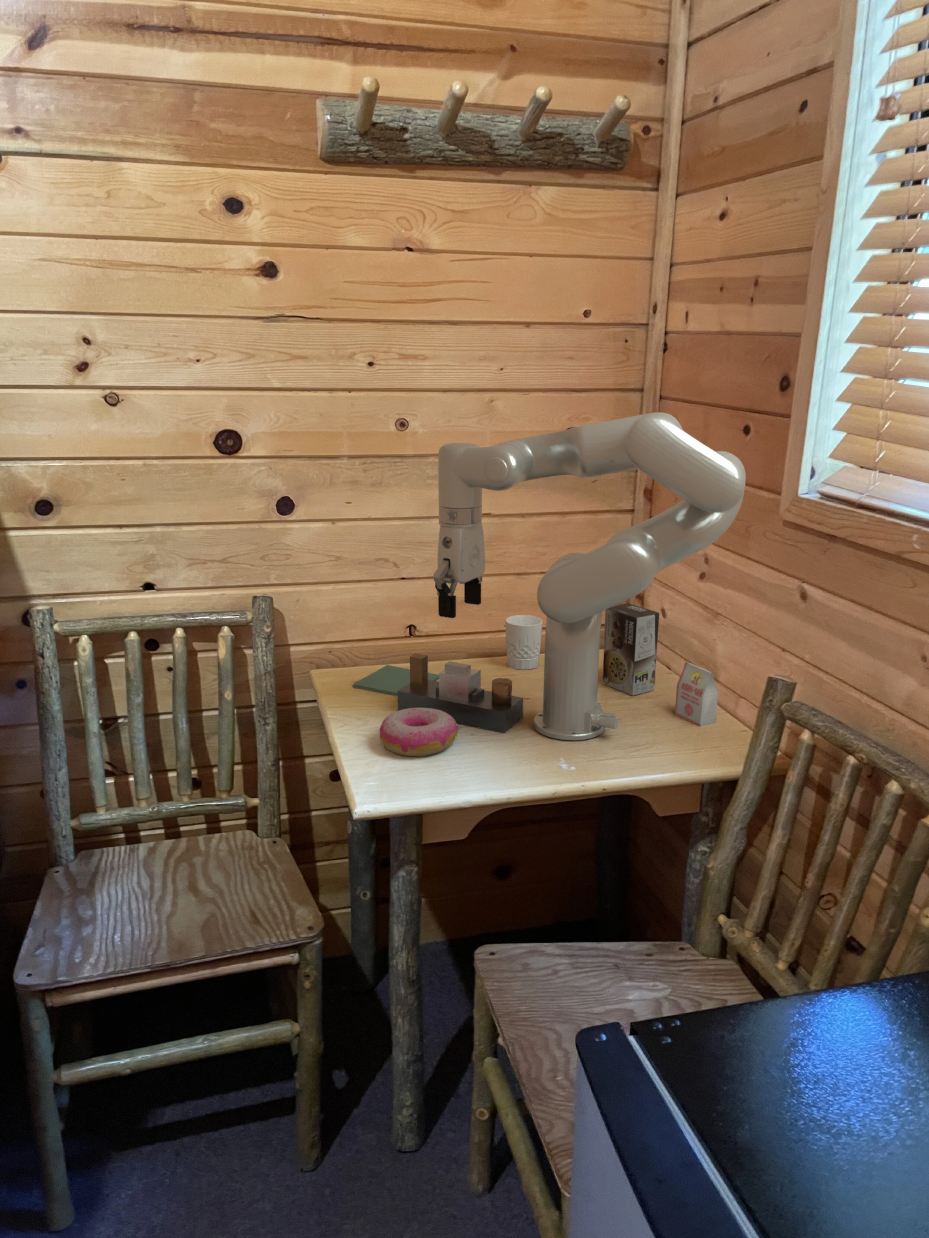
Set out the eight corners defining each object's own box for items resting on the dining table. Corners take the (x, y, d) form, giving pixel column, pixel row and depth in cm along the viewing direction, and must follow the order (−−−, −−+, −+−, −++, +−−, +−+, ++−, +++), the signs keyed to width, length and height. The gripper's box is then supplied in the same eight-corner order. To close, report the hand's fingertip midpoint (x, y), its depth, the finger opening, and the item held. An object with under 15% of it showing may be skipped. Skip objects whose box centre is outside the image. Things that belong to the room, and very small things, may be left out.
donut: (447, 725, 167) (447, 699, 165) (466, 756, 154) (466, 728, 153) (373, 733, 163) (372, 706, 162) (387, 765, 151) (386, 736, 149)
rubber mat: (441, 677, 190) (441, 675, 190) (408, 698, 179) (408, 695, 179) (387, 667, 196) (387, 664, 195) (352, 686, 184) (352, 684, 184)
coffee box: (655, 690, 184) (661, 612, 179) (632, 696, 180) (637, 617, 176) (623, 677, 191) (628, 602, 186) (600, 683, 188) (604, 606, 183)
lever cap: (439, 695, 169) (439, 666, 168) (451, 687, 173) (452, 658, 172) (468, 701, 167) (468, 671, 165) (480, 692, 171) (480, 663, 169)
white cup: (529, 673, 193) (531, 627, 190) (497, 666, 197) (498, 621, 194) (547, 663, 199) (549, 618, 196) (516, 656, 203) (517, 612, 200)
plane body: (397, 710, 173) (397, 660, 170) (419, 697, 179) (418, 648, 177) (504, 733, 163) (505, 680, 160) (522, 717, 170) (524, 666, 167)
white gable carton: (689, 710, 174) (693, 660, 171) (715, 722, 168) (720, 671, 165) (674, 714, 172) (678, 663, 169) (700, 726, 166) (704, 674, 164)
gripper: (455, 525, 152) (456, 625, 156) (501, 509, 166) (499, 601, 171) (416, 521, 155) (417, 619, 160) (464, 506, 170) (464, 596, 174)
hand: (460, 610), depth 165 cm, fingers open, 9 cm apart
